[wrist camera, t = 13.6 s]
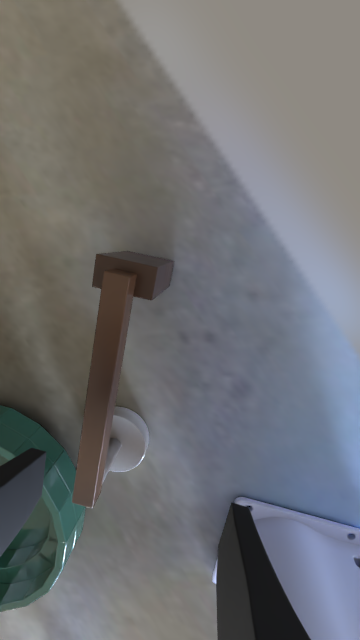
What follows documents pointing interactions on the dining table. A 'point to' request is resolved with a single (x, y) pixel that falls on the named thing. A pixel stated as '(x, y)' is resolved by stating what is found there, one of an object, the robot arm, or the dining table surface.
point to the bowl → (38, 516)
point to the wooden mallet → (114, 372)
